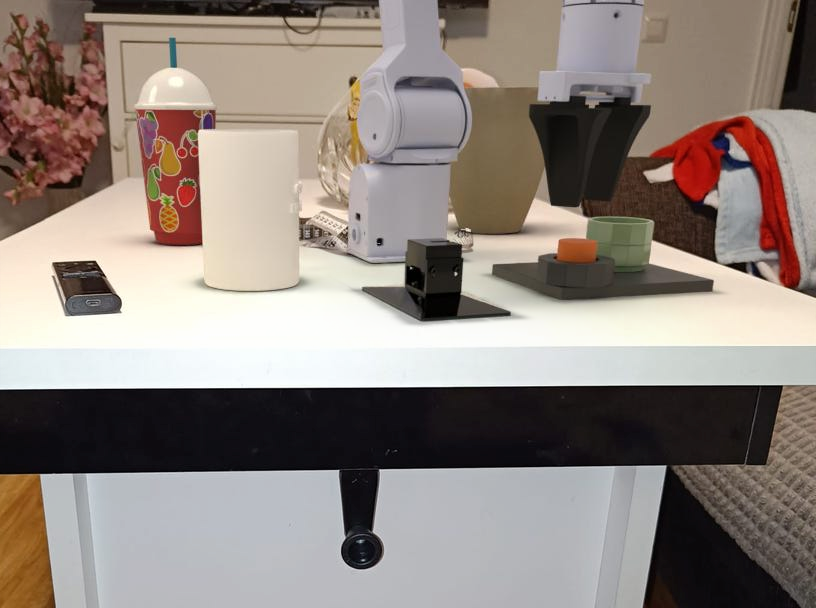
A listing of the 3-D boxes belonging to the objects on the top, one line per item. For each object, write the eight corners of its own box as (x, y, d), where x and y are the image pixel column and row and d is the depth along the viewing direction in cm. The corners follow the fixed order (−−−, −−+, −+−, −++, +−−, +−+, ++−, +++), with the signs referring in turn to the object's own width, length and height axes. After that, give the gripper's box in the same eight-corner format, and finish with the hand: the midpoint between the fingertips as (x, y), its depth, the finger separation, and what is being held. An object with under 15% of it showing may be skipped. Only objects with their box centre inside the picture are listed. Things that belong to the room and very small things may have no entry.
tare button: (568, 266, 72) (571, 243, 71) (549, 260, 75) (551, 238, 74) (602, 265, 73) (605, 242, 72) (582, 259, 76) (584, 237, 75)
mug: (283, 265, 86) (281, 127, 82) (311, 289, 76) (311, 131, 71) (194, 268, 84) (187, 127, 80) (210, 292, 74) (203, 131, 69)
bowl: (605, 274, 78) (611, 224, 76) (571, 263, 82) (576, 217, 81) (660, 271, 79) (667, 222, 78) (623, 261, 84) (629, 215, 82)
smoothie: (237, 240, 102) (231, 39, 94) (186, 249, 95) (175, 33, 88) (179, 234, 106) (169, 41, 98) (127, 243, 99) (111, 36, 92)
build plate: (512, 318, 66) (517, 252, 65) (417, 325, 64) (420, 257, 62) (440, 286, 77) (443, 228, 75) (357, 290, 75) (358, 231, 73)
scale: (559, 302, 71) (562, 265, 70) (486, 275, 82) (488, 243, 81) (716, 293, 75) (722, 258, 74) (627, 268, 86) (631, 238, 85)
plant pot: (479, 220, 122) (487, 88, 116) (576, 231, 112) (590, 87, 106) (400, 229, 112) (405, 86, 106) (498, 242, 102) (509, 85, 96)
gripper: (617, -5, 59) (593, 214, 65) (690, 12, 70) (665, 199, 75) (517, 1, 63) (502, 207, 68) (601, 17, 74) (583, 194, 79)
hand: (581, 203), depth 72 cm, fingers open, 6 cm apart
